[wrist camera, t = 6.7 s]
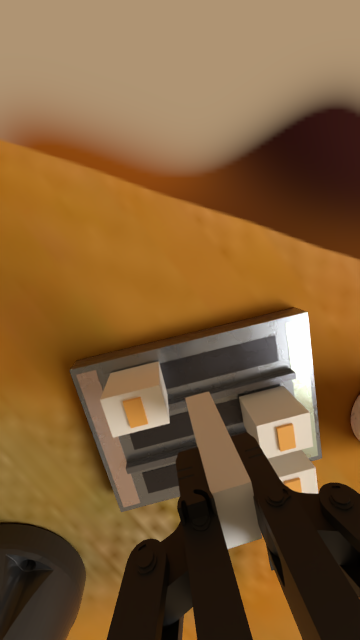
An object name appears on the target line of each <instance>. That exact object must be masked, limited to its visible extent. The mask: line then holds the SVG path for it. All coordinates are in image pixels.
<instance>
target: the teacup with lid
mask: <svg viewBox="0 0 360 640" xmlns="http://www.w3.org/2000/svg"><path fill="white" fill-rule="evenodd" d="M351 427H352V430H353V432H354V434H355V436H356V437H357V439H358V440H359V441H360V395H359V396H358V398H357V399H356V401H355V403H354V405H353V408H352V412H351Z"/></svg>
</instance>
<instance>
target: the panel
mask: <svg viewBox="0 0 360 640" xmlns="http://www.w3.org/2000/svg"><path fill="white" fill-rule="evenodd" d="M158 361H159V364H160V368H161V371H162V375H163V379H164V383H165V387H166V390H167V395H168V407H169V418H170V423H169V424H165V425H161V426H157V427H153V428H149V429H145V430H142V431H138V432H134V433H130V434H126V435H122V436H118V437H114V438H113V437H112V434H111V431H110V428H109V425H108V422H107V419H106V416H105V413H104V410H103V407H102V404H101V401H100V398H101V396H102V393H103V391H104V388H105V386H106V383H107V381H108V378H109V376H110V373H113V372H117V371H121V370H125V369H129V368H133V367H137V366H141V365H145V364H150V363H154V362H158ZM69 371H70V373H71V376H72V379H73V382H74V384H75V387H76V390H77V393H78V395H79V398H80V401H81V404H82V406H83V409H84V412H85V415H86V417H87V420H88V423H89V426H90V428H91V431H92V434H93V437H94V439H95V442H96V445H97V448H98V450H99V453H100V456H101V458H102V461H103V464H104V467H105V469H106V472H107V475H108V478H109V480H110V483H111V486H112V489H113V491H114V494H115V497H116V500H117V502H118V505H119V508H120V511H121V512H123V511H127V510H131V509H135V508H138V507H142V506H146V505H149V504H153V503H157V502H161V501H164V500H168V499H172V498H176V497H179V496H180V491H179V484H178V476H177V469H176V462H175V461H176V458H177V455H178V452H181V451H185V450H188V449H192V448H195V447H197V444H196V440H195V436H194V432H193V428H192V424H191V420H190V416H189V412H188V408H187V404H186V399H185V398H186V397H190V396H194V395H197V394H201V393H205V392H208V391H209V393H210V395H211V397H212V399H213V401H214V403H215V405H216V407H217V410H218V412H219V414H220V416H221V418H222V420H223V422H224V425H225V427H226V429H227V431H228V433H229V435H230V437H232V436H235V435H239V434H242V433H246V432H247V430H246V428H245V427H244V423H243V417H242V412H241V406H240V401H239V397H240V396H244V395H248V394H252V393H256V392H260V391H264V390H268V389H272V388H275V387H279V386H284V387H285V388H286V389H287V390H288V391H289V392H290V393H291V394H292V395H293V396H294V397H295V398H296V399H297V400H298V401H299V402H300V403H301V404H302V405H303V406H304V407H305V408H306V409H307V410H308V411H309V412H310V421H311V430H312V440H313V447H309V448H305V449H302V451H303V452H304V453H305V455H306V456H307V457H308V459H309V460H310V461H314V460H318V459H321V458H322V453H321V443H320V433H319V422H318V412H317V402H316V392H315V382H314V371H313V361H312V351H311V341H310V331H309V320H308V312H306V311H303V310H301V309H298V308H291V309H287V310H283V311H278V312H274V313H270V314H266V315H262V316H258V317H254V318H250V319H246V320H241V321H237V322H233V323H229V324H225V325H221V326H217V327H213V328H209V329H204V330H200V331H196V332H192V333H188V334H184V335H180V336H176V337H172V338H167V339H163V340H159V341H155V342H151V343H147V344H143V345H139V346H135V347H130V348H126V349H122V350H118V351H114V352H110V353H106V354H102V355H98V356H93V357H89V358H85V359H81V360H77V361H76V362H75V364H74V365H73V366H72V367H71V369H70V370H69ZM247 433H248V432H247Z"/></svg>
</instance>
